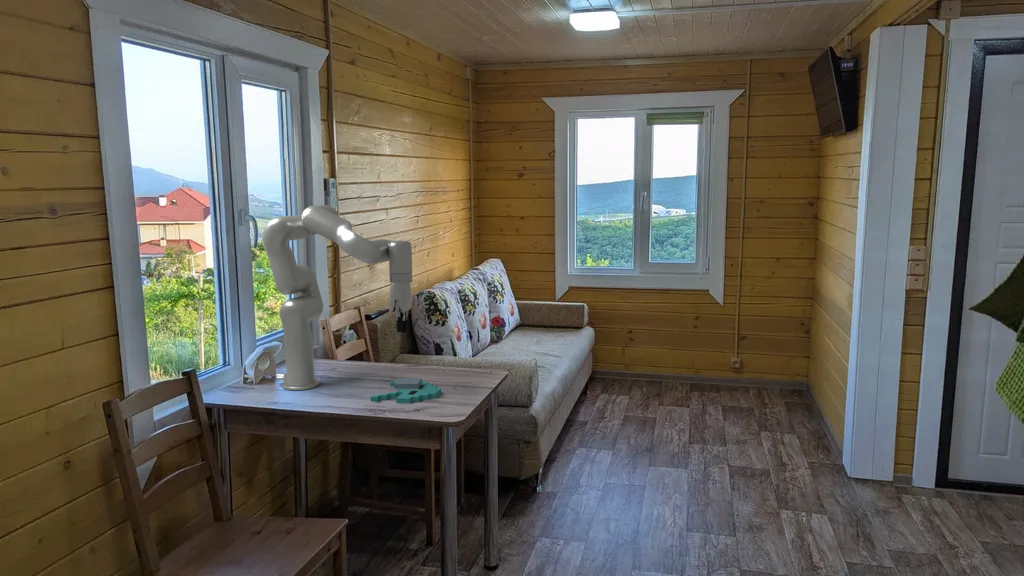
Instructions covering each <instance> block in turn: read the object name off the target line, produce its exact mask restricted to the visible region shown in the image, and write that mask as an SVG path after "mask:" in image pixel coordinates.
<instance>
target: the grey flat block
mask: <svg viewBox="0 0 1024 576" xmlns="http://www.w3.org/2000/svg"><path fill="white" fill-rule="evenodd" d="M422 382H423V378H419V377H416V378H415V377H399V378H398V379H397V380H396V382H395V383H394V387H393V388H394V390H398V389H401V390H418V389H419V387H420V386H421V384H422Z"/></svg>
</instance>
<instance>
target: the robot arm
mask: <svg viewBox="0 0 1024 576" xmlns="http://www.w3.org/2000/svg"><path fill="white" fill-rule="evenodd" d="M352 229H353V226H352V223H351V222H350V221H349V220H347V219H345V218H343V217H341V216H339V214H338V212H337V210H336V209H335V208H333V206H331V205H326V204H322V205H321V204H319V205H318V204H317V205H310V206H307V207H306V208H305V209H304V210H303V211H302V213H301V214H298V215H296V214H295V215H283V216H277V217H275V218H273V219H271V220H269V221H268V222H267V224H266V225H265V226H264V229H263V231H262V244H263V247H264V249H265V253H266V255H267V257H268V261H269V265H270V269H271V272H272V276H273V278H274V282H275V286H276V289H277V291H278V292H279V293H280V294H282V295H286V296H287V295H295V297H292V298H289V299H287V300H285V301H284V302H283V303H282V305H281V307H280V308H279V316H280V321H281V325H282V329H283V338H284V339H283V342H284V343H283V344H284V354H285V355H284V358H285V373H279V372H278V373H276V380H277V381H283V383H282V388H283V389H284V390H288V391H304V390H309V389H313V388H316V387H318V386H319V385H320V380H319V379H318V378H315V363H314V362H315V359H314V343H313V341H314V340H313V332H312V329H311V327H310V324H309V322H311V321H314V320H316V319H318V318H320V316H321V315H322V314H323V310H324V302H323V299H322V295H321V291H320V288H319V287H320V286H319V284H318V280H317V277H316V275H315V273H314V271H313V270H312V269H311V268H310V267H309V266H308V265H307V266H306V265H303V264H297V260H296V257H295V253H294V251H293V250H292V248H291V247H290V245H289V244H288V242H289V241H295V240H303V239H306V238H309V237H312V236H315V235H320V236H322V237H324V238H326V239H328V240H330V241H331V242H333V243H335V244H337V246H339V248H340V249H341V250H342V251H343V252H345V253H346V254H347V255H349V256H351V257H352V258H354V259H356V260H358V261H360V262H363V263H365V264H369V265H375V264H378V263H384V262H388V268H389V284H390V287H389V289H390V290H389V312H390V313H392V314H393V313H394V317H395V318H396V332H397V333H402V334H403V333H405V334H406V333H407V332H408V315H409V313H408V312H409V310H410V309H412V303H413V302H412V301H413V300H412V285H411V283H413V249H412V247H413V246H412V243H411V241H409V240H390V239H374V240H373V239H372V240H369V239H367V238H365V237H363V236H361V235H359V234H357V233H356V232H354V230H352Z"/></svg>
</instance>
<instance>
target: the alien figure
mask: <svg viewBox="0 0 1024 576" xmlns="http://www.w3.org/2000/svg"><path fill="white" fill-rule="evenodd" d="M396 381H397V380H394V379H393V380H391V381H390V387H393V388H394V383H395V382H396ZM441 394H442V388H441V387H438V385H434V384H433V383H430V382H429V381H422V384H421V386H420V387H419V389H418V390H401V389H397V391H390V392H388V393H386V392H382V393H381V394H372V395H371V396H370V402H371V403H373V402H374V403H377V402H379V401H387V400H389V399H392V400H393V399H394V400H396V401H395V402H396V404H406V405H408V404H409V405H410V404H411V403H413V402H414V403H419V402H420V401H428V400H429V399H433V400H434V399H437V398H438V397H439V396H440V395H441Z"/></svg>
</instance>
